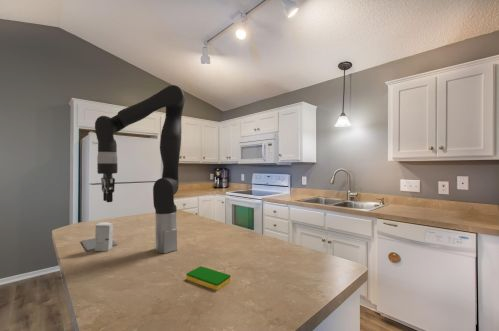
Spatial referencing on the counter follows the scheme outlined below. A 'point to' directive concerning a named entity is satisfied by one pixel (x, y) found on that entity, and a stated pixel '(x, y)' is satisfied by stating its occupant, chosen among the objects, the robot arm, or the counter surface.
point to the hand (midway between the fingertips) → (107, 201)
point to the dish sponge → (208, 277)
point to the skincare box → (103, 236)
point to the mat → (92, 244)
